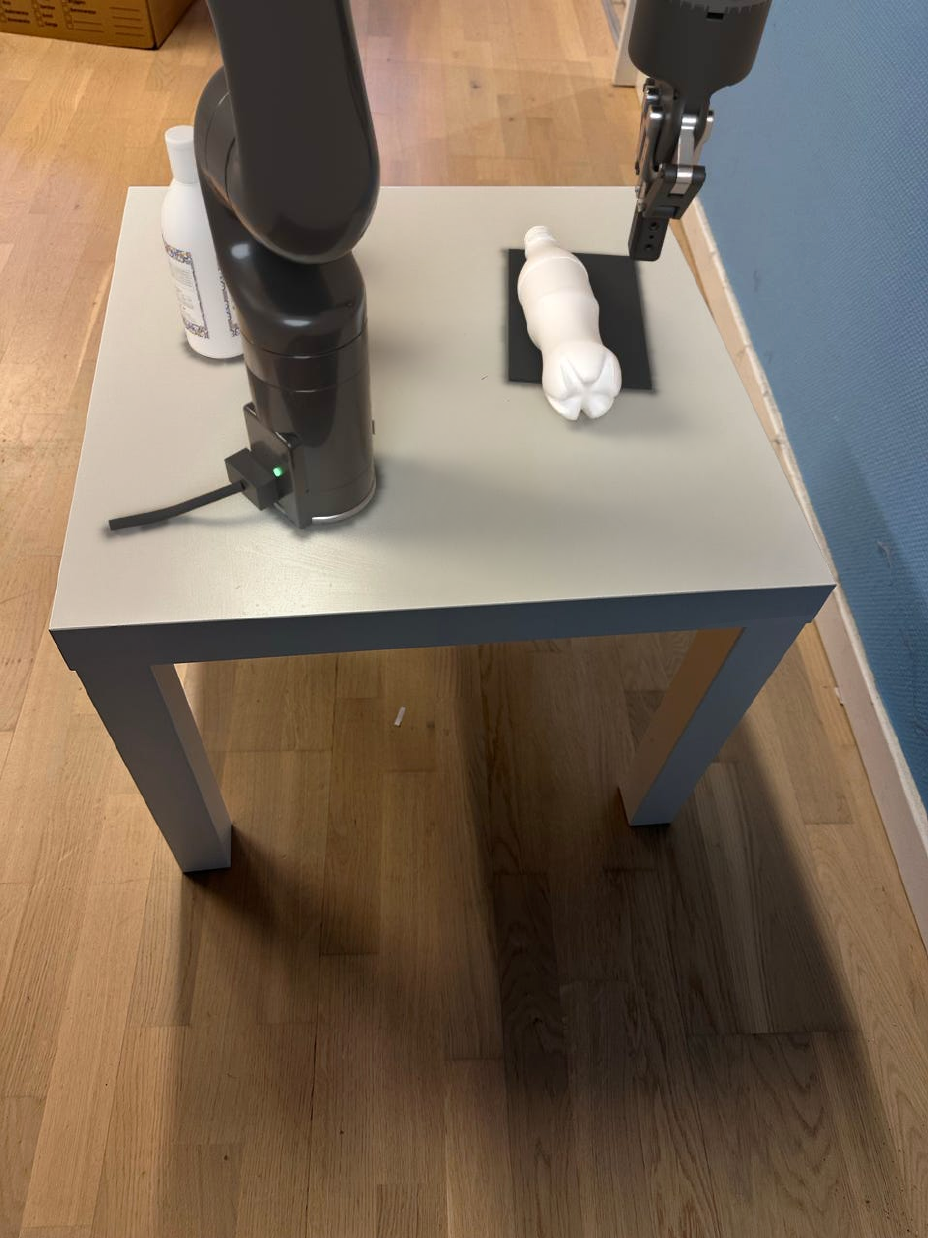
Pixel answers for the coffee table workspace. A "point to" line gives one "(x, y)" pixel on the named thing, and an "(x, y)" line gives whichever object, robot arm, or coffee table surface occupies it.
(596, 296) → the mat
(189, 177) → the bath foam
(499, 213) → the coffee table surface
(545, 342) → the water bottle
